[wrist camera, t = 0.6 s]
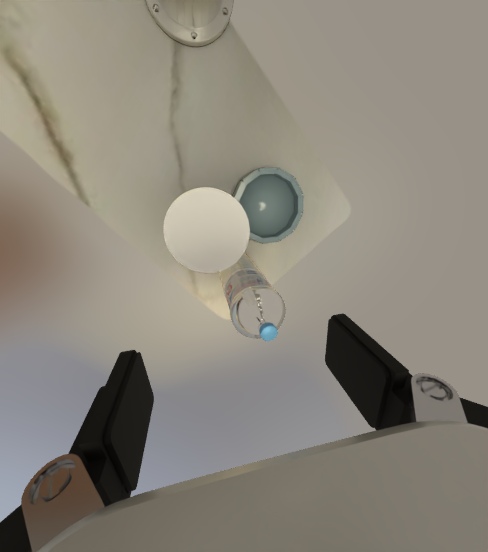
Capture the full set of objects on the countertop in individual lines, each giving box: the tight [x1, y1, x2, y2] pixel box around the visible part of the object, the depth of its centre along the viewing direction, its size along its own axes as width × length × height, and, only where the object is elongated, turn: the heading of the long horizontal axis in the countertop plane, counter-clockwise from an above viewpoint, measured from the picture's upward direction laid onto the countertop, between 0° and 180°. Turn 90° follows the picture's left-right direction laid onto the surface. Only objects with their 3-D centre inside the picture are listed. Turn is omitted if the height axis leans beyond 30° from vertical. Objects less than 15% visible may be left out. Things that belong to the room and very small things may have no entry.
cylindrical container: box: [163, 187, 250, 273], centre depth 31 cm, size 7×7×25 cm
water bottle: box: [219, 253, 286, 341], centre depth 35 cm, size 7×7×25 cm
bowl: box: [232, 167, 303, 244], centre depth 43 cm, size 13×13×3 cm
